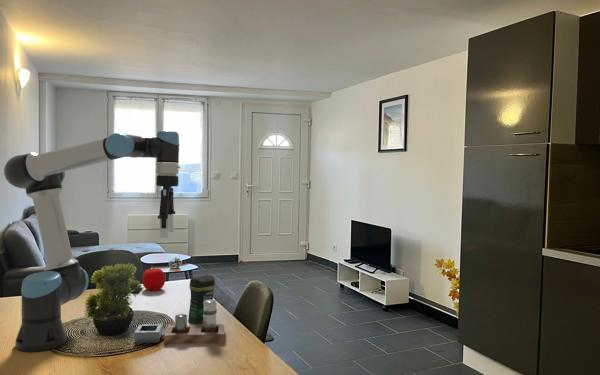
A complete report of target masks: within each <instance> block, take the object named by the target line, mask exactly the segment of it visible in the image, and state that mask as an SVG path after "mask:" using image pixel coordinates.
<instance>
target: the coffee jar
mask: <svg viewBox="0 0 600 375" xmlns="http://www.w3.org/2000/svg"><path fill="white" fill-rule="evenodd" d="M215 280H216V279H215V277H214V276H213V275H209V274H205V275H199V276H194V277H191V278H190V280H189V290H190V300H189V301H190V303H189V309H188V310H189V311H188V317H187V323H189V324H191V325H203V318H204V314H203V309H204V301H205V300H214V290H215V288H216V282H215Z"/></svg>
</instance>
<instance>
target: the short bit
mask: <svg viewBox="0 0 600 375" xmlns="http://www.w3.org/2000/svg"><path fill="white" fill-rule="evenodd" d="M187 323H188V315H187V314H184V313H179V314H175V316H174V325H175V333H187V325H188V324H187Z"/></svg>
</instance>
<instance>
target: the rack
mask: <svg viewBox="0 0 600 375" xmlns="http://www.w3.org/2000/svg"><path fill="white" fill-rule="evenodd" d="M224 343H225V323H224V324H223V323H221V324H218V323H216V332H203V324H200V325H196V324H187V333H175V324H173V325H171V324H169V325H167V327H166V329H165V332H164V335H163V345H186V344H187V345H189V344H195V345H196V344H224Z"/></svg>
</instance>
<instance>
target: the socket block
mask: <svg viewBox="0 0 600 375" xmlns="http://www.w3.org/2000/svg"><path fill="white" fill-rule="evenodd" d="M162 335H163V324H162V323H157V324H156V323H155V324H148V323H147V324H146V323H145V324H138V326H137V328H136V329H135V331H134V338H133V340H134V343H135V344H140V343H142V344H144V343H148V344H149V343H159V342H160V340H161V337H162Z"/></svg>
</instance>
